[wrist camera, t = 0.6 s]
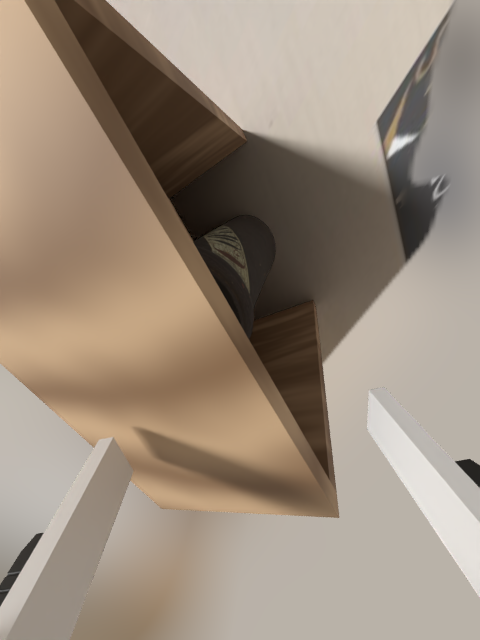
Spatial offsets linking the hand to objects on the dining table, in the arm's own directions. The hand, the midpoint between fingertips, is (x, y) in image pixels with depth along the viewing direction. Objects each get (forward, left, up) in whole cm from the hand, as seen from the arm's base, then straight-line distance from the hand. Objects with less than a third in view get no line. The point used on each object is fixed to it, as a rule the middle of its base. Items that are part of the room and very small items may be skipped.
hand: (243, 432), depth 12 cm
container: (-5, -3, -25) cm, 25 cm away
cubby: (-6, -3, -24) cm, 25 cm away
